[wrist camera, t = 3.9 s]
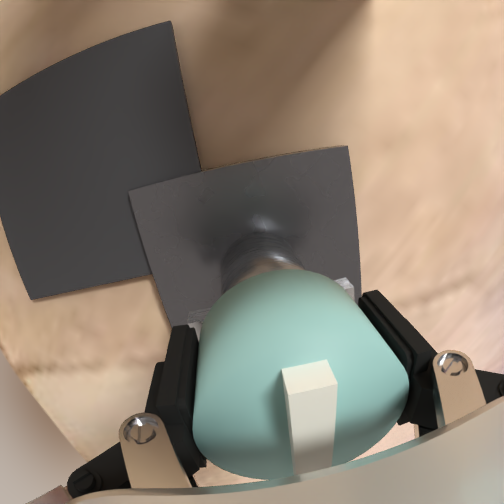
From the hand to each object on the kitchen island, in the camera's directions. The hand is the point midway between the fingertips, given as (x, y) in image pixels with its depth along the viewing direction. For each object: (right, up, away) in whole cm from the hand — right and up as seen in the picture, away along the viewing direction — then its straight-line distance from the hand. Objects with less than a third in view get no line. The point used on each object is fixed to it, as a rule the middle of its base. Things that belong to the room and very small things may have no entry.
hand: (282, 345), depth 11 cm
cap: (0, 0, 0) cm, 0 cm away
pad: (-11, +8, +5) cm, 14 cm away
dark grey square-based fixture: (-1, +3, +8) cm, 8 cm away
